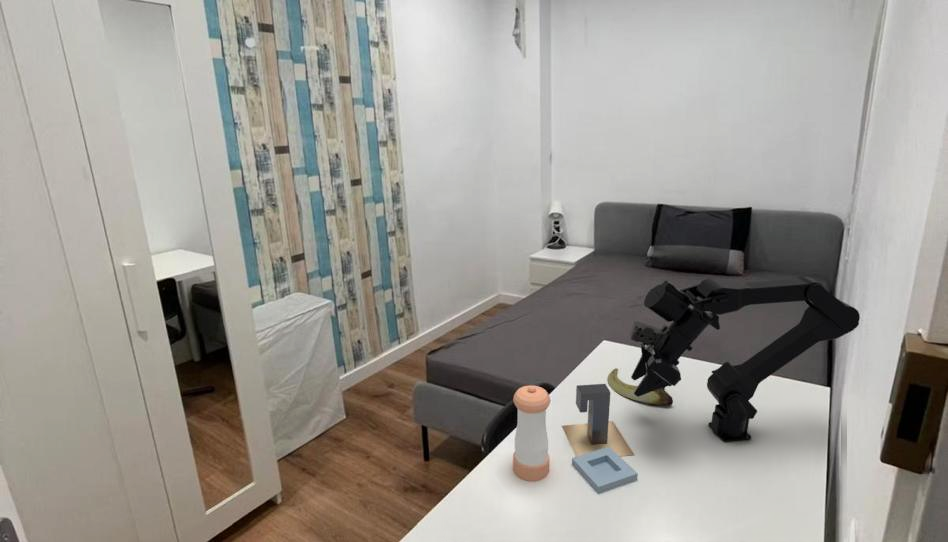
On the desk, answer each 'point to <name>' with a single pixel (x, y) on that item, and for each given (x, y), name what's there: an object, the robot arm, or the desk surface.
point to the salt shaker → (531, 434)
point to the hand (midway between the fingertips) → (634, 386)
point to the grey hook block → (595, 410)
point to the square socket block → (604, 469)
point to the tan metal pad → (583, 445)
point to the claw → (628, 390)
